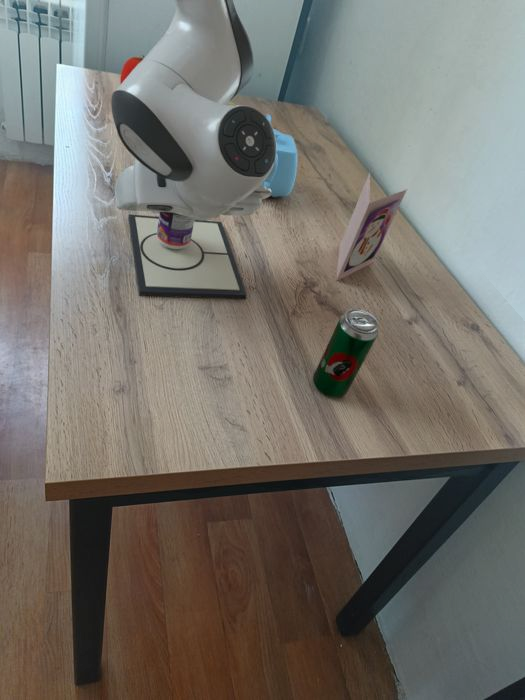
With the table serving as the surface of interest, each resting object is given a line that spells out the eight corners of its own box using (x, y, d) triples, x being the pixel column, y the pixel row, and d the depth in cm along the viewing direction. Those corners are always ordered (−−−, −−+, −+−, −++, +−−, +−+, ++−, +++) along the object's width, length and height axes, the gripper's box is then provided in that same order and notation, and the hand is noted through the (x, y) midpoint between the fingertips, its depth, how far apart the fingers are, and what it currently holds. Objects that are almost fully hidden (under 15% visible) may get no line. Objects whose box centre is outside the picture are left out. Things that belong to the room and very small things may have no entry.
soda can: (353, 397, 73) (389, 333, 65) (321, 402, 70) (354, 336, 62) (336, 370, 76) (368, 305, 68) (305, 374, 74) (334, 307, 65)
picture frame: (139, 295, 77) (139, 289, 76) (128, 218, 90) (128, 212, 89) (245, 299, 82) (247, 293, 81) (220, 225, 95) (221, 220, 94)
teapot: (282, 167, 119) (297, 116, 111) (292, 210, 106) (310, 155, 98) (227, 156, 116) (238, 102, 108) (231, 198, 103) (244, 141, 95)
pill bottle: (152, 230, 86) (160, 174, 80) (185, 231, 88) (195, 176, 82) (160, 250, 83) (168, 193, 76) (193, 250, 85) (204, 195, 79)
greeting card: (340, 283, 91) (374, 205, 81) (308, 260, 94) (337, 182, 84) (376, 265, 99) (411, 191, 89) (345, 243, 102) (376, 170, 92)
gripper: (275, 166, 74) (239, 192, 86) (123, 152, 66) (108, 183, 78) (277, 212, 74) (241, 232, 87) (126, 204, 66) (110, 227, 78)
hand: (177, 209), depth 82 cm, fingers closed on pill bottle, 5 cm apart
